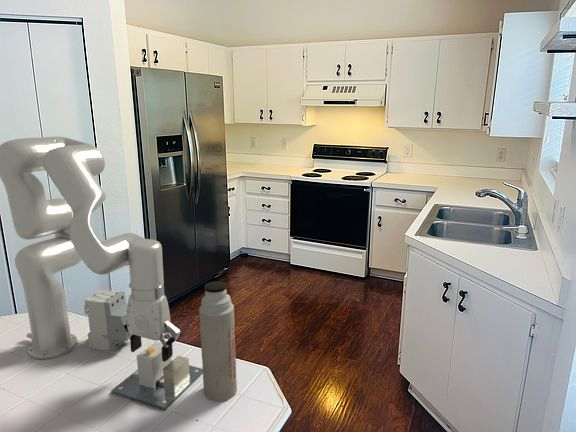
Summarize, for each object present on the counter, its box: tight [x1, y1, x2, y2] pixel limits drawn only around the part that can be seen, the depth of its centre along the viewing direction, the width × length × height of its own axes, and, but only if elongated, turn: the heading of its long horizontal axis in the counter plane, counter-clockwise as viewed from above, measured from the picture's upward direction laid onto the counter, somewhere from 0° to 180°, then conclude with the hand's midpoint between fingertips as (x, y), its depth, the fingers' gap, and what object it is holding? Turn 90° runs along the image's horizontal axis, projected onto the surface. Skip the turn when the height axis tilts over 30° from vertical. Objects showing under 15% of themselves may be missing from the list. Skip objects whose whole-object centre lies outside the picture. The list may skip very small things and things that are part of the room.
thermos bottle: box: [198, 281, 238, 403], centre depth 100 cm, size 8×8×28 cm
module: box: [136, 341, 172, 389], centre depth 106 cm, size 4×7×9 cm, turn 157°
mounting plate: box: [110, 355, 203, 412], centre depth 106 cm, size 16×16×7 cm
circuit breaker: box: [83, 289, 130, 352], centre depth 122 cm, size 8×14×15 cm, turn 78°
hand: (151, 353), depth 105 cm, fingers open, 9 cm apart
